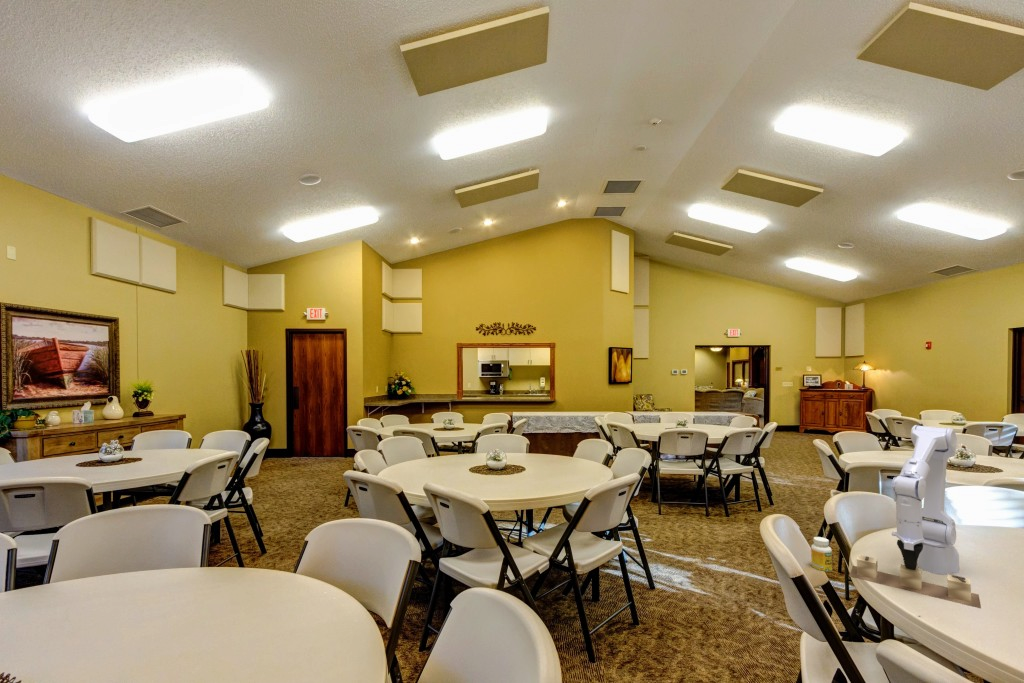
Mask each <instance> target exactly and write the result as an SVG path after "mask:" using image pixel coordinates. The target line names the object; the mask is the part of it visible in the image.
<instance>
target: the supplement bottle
mask: <svg viewBox="0 0 1024 683" xmlns="http://www.w3.org/2000/svg"><path fill="white" fill-rule="evenodd" d="M829 545H830V540H829V539H827V538H826V537H823V536H822V537H821V536H814V537H813V543H812V544H811V548H810V549H811V550H810V552H811V553H810V554H811V567H812V568H813V569H815V570H817V571H821V572H832V571H833V550H832V547H830V546H829Z"/></svg>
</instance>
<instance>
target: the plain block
mask: <svg viewBox="0 0 1024 683" xmlns="http://www.w3.org/2000/svg"><path fill="white" fill-rule="evenodd" d="M899 576H900V585H902V586H906V587H910V588H914V589H918V590H921V588H922V582H923V580H922V569H921V568H919V567H917V566H916V570H911V569H906V567H905V564H904V563H903V564H902V563H901V564H900V567H899Z"/></svg>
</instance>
